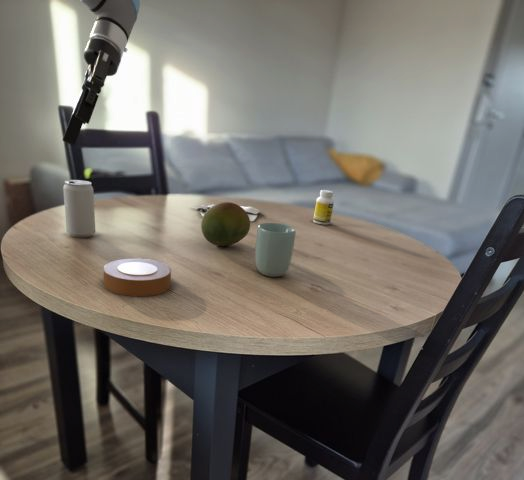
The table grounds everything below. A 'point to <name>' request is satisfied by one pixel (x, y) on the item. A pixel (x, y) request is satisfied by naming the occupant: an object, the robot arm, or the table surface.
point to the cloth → (249, 210)
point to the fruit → (225, 224)
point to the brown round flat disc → (137, 277)
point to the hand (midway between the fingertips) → (74, 132)
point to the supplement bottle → (324, 208)
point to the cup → (274, 248)
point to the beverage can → (79, 208)
